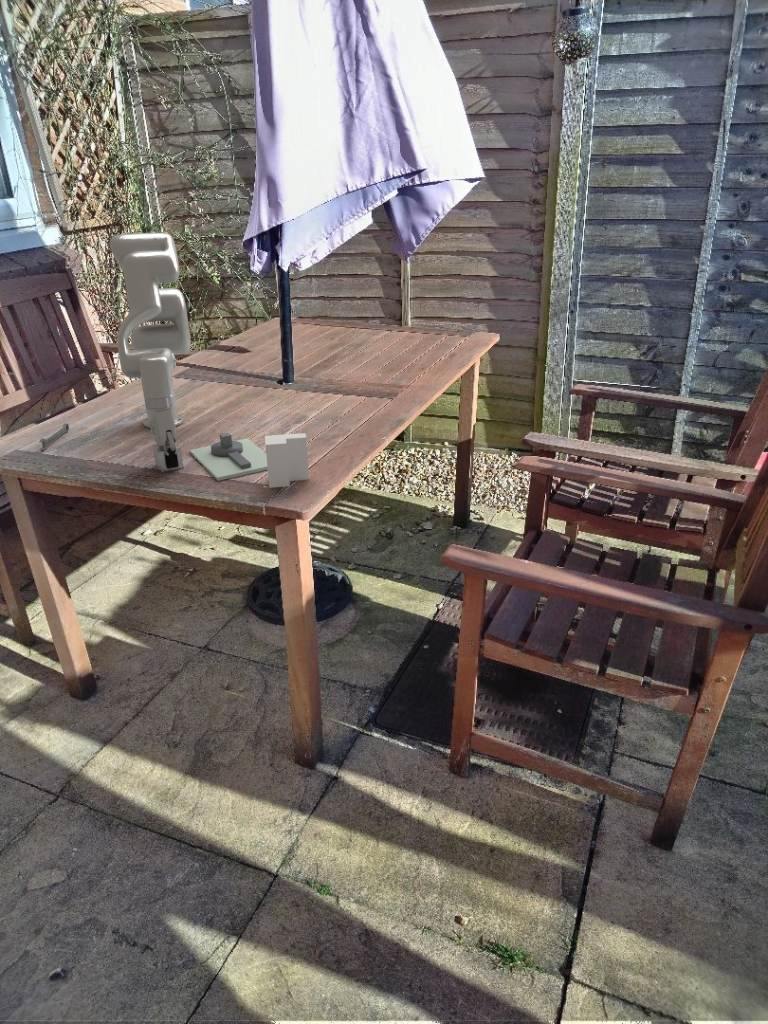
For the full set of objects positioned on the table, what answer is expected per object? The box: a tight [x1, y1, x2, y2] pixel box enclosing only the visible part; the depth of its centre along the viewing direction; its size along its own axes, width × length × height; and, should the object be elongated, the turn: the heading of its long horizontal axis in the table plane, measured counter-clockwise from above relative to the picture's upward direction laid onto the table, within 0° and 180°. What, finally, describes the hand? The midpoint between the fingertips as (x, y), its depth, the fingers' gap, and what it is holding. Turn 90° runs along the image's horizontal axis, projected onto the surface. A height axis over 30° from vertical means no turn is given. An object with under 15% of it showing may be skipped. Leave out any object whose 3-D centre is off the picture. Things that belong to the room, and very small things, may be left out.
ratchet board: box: [189, 432, 268, 482], centre depth 201 cm, size 24×18×6 cm
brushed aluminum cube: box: [152, 442, 184, 473], centre depth 197 cm, size 6×6×6 cm
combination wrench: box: [38, 423, 70, 452], centre depth 217 cm, size 4×1×20 cm
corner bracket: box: [264, 432, 310, 488], centre depth 188 cm, size 11×11×12 cm
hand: (169, 463), depth 197 cm, fingers closed on brushed aluminum cube, 6 cm apart
